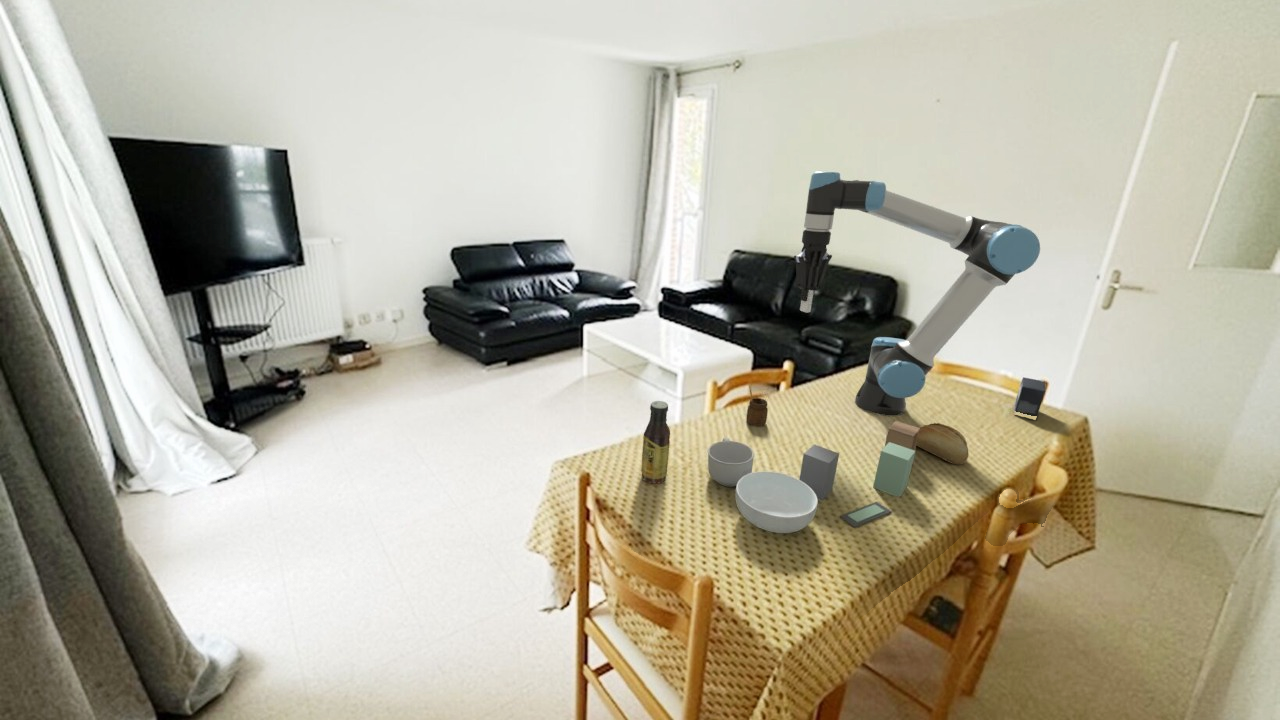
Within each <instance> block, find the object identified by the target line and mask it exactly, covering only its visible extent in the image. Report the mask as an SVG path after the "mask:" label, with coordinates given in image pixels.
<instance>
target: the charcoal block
mask: <svg viewBox="0 0 1280 720" xmlns="http://www.w3.org/2000/svg"><path fill="white" fill-rule="evenodd" d="M839 458H840V453H839V452H837V451H835V450H831V449H828V448H825V447H823V446H820V445H817V444H813V445H812V446H811V447H810V448H808V449H807V450H806V451H805V452H804V453H803V456H802V462H801V469H800V474H799V480H800V481H802V482H804V483H805V484H806V485H808V486H809V487H810V488H811V489H812V490H813V491H814V493H815V494H816V496H817V499H818V501H821V502H823V501H824V500H825V499H826V498H827V497H828V496H829V495H830V494H831V492H833V489H834V483H835V477H836V473H837V468H838V467H837V466H838V462H839Z"/></svg>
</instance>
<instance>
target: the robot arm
mask: <svg viewBox="0 0 1280 720" xmlns="http://www.w3.org/2000/svg"><path fill="white" fill-rule="evenodd" d="M886 185H887V184H886V183H885V182H883V181H875V180H858V179H854V180H843V179H841V173H840V172H837V171H815V172H813V173H812V175H811V177H810V183H809V188H808V193H807V202H806V210H805V217H804V224H803V228H805V229H804V230H802V237H801V243H802V244H803V246H802V248H801V252H800V253H799V254H795V255H794V256H793V259H794V261H795V273H796V274H795V275H796V287H797V288H798V289H800V290H801V292H800V295H801V296H800V307H799V311H801V312H804V313H811V310H812V304H813V301H814V298H815V297H814V296H815V291H818V290H819V288H821V287H822V284H823V281H824V277H825V275H826V271H827V269H828V266H829V263H830V261H831V259H832V257H833V255H832V254H831V253H828V248H827V246H828V245H830V243H831V235H832V233H831V231H830V230H832V229H833V224H834V218H835V217H834V216H835V211H836V209H838V210H853V211H859V212H863V213H866V214H868V215H872V216H874V217H877V218H880V219H882V220H885V221H888V222H891V223H894V224H896V225H899V226H902V227H905V228H907V229H910V230H912V231H915V232H918V233H921V234H923V235H925V236H929V237H931V238H934V239H937V240H940V241H942V242H945V243H948V244H949V245H950V248H952V249H954V250H956V251H958V252H961V253H963V254H965V255H967V258H966V259H965V260H964V265H965V269H964V270H963V272H961V274H960V275H959V277H958V278H957V279H956V280H955V281H954V282H953V284H952V285H951V286H950V287H949V288H948V290H947V291H946V292H945V294H943V296H942V297H941V298H940V299H939V300H938V302H937V303H936V304H935V306H934V307H932V309H931V310H930V311H929V312H928V314H927V315H926V316H925V317H924V319H923V320H922V321H921V322H920V323H919V324H918V326H917V327H916V328H915V329H914V330H913V332H912V333H911V334H910V335H909V336H908V337H907V339H903V338H895V337H887V336H878V337H875V338H874V339H873V340H872V344H871V346H870V354H869V359H868V364H867V368H866V374H865V379H864V382H863V383H862V384H861V387H860V388H859V389H858V391H857V393H856V394H855V401H854V403H855V405H857V407H859V408H861V409H862V410H864V411H866V412H869V413H871V414H872V413H873V414H876V415H881V416H889V417H890V416H892V417H893V416H901V415H903V414H904V413H905V412H906V408H907V407H906V406H907V402H906V398H911V397H913V396H915V395H917V394H919V393H920V392H921V391H922V389H923V388H924V386H925V384H926V378H927V377H926V375H928V374H929V372H930V371H931V370H932V369H933V368H934V367H935V361H934V358H935V357H936V355H938V353H939V352H940V351H941V350H942V348H944V346H946V345H947V343H948V342H949V340H951V338H952V337H954V335H955V334H956V333H957V332H958V330H960V328H961V327H962V326H963V325H964V323H965V322H966V321H967V320H968V319H969V318H970V317H971V316H972V315H973V313H974V312H975V311H976V310H977V309H978V308H979V307H980V306H981V304H983V301H985V299H987V297H989V295H990V294H991V292H992V291H993V290H994V289H995V288H996V287H1000V286H1006V285H1007V284H1008V283H1009V282H1010V280H1011V279H1012V278H1013V277H1014V276H1015V275H1018V274H1020V273H1022V272H1026V271H1027V270H1029V269H1030V268H1031V267H1032V266H1033V265H1034V264H1035V263H1036V261H1037V260H1038V258H1039V255H1040V253H1041V245H1040V239H1039V238H1038V235H1037V234H1036V233H1035V232H1033V231H1032V230H1031V229H1029V228H1027V227H1025V226H1022V225H1020V224H1011V223H1006V222H1002V221H993V220H987V219H981V218H977V217H975V216H972V215H967V216H965V217H964V216H960V215H957V214H956V213H955V214H954V213H952V212H949V211H946V210H943V209H942V208H938V207H935V206H932V205H929V204H927V203H924V202H920V201H918V200H915V199H913V198H909V197H907V196H903V195H901V194H897V193H895V192H892V191H890V190H887V187H886Z"/></svg>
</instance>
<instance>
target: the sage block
mask: <svg viewBox="0 0 1280 720" xmlns="http://www.w3.org/2000/svg"><path fill="white" fill-rule="evenodd" d="M915 454H916V449H915V450H911V449H908V448H905V447H902V446H899V445H896V444H893V443H890V442H889V443H888V444H887V445H886V446H885V445H884V447H883V448H882V449H881V450H880V454H879V459H878V463H877V468H876V472H875V473H876V474H875V477H874V481H873V488H874V489H876V490H879V491H881V492H884V493H887V494H889V495H892V496H895V497H897V498H901V496H902V494H903V493H904V492H905V491H906V489H907V487H908V483H909V478H910V475H911V471H912V467H913V464H914V459H915Z"/></svg>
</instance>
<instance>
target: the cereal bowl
mask: <svg viewBox="0 0 1280 720" xmlns="http://www.w3.org/2000/svg"><path fill="white" fill-rule="evenodd" d="M799 479H800V478H799ZM799 479H798V478H797V477H794V476H792V475H789V474H787V473H783V472H782V473H781V472H777V471H771V470H770V471H761V470H760V471H754V472H752V473H750V474H747V475H745V476H743V477H742V478H741V479H740V480H739V481H738V483H737V486H735V502H736V505H737V508H738V510H739V513H740V514H742V516H743V517H744V519H746V520H747V521H748V522H749V523H750V524H751V525H753V526H754V527H757V528H759V529H762V530H764V531H766V532H771V533H775V534H776V533H777V534H789V533H790V534H791V533H794V532H798V531H800V530H802V529H804V528H806V527H807V526H808V525H809V524H811V522H812V520H813V519H814V517H815V515H816V512H817V507H818V503H819V500H818V499H817V496H816V494H815V493H814V491H813V490H812V489H811V488H810V487H809V486H808V485H806V484H805V483H804V482H802V481H800V480H799Z"/></svg>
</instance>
